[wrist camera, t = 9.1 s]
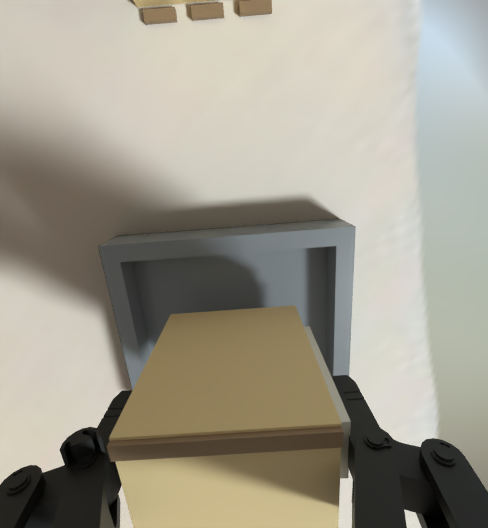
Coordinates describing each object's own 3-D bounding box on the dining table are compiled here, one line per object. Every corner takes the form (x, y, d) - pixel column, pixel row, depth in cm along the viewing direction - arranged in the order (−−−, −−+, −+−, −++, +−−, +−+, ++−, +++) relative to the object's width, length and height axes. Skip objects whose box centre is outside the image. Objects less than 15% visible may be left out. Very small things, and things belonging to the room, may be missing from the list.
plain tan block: (170, 314, 16) (105, 444, 9) (295, 305, 16) (344, 429, 8) (183, 387, 18) (137, 554, 10) (297, 379, 18) (339, 543, 10)
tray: (116, 236, 18) (98, 246, 16) (340, 218, 18) (355, 226, 16) (152, 402, 22) (141, 429, 20) (335, 389, 22) (347, 416, 20)
